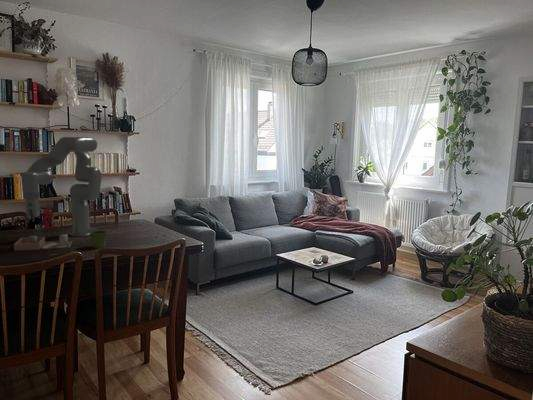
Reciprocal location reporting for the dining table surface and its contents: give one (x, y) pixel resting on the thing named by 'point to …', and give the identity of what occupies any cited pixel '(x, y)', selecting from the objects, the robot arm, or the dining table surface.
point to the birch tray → (55, 245)
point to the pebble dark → (32, 239)
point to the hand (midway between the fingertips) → (33, 227)
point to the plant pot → (98, 238)
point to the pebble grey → (63, 240)
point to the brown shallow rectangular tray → (29, 244)
